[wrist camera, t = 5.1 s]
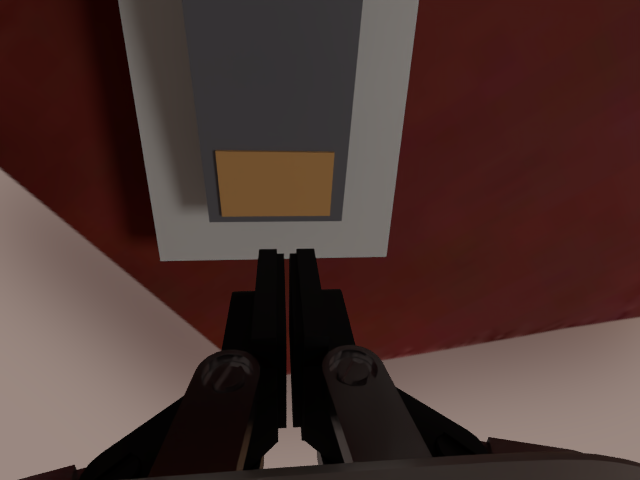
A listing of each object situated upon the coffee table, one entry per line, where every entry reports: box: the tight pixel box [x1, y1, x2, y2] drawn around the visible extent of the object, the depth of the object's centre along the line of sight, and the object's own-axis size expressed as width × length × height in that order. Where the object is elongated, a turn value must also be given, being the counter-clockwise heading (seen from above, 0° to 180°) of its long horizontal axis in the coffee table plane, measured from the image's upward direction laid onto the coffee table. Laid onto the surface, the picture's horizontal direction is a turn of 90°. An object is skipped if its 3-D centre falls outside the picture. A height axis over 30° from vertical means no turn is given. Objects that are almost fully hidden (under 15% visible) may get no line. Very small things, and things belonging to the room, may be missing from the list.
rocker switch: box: [182, 0, 363, 222], centre depth 20 cm, size 14×8×2 cm, turn 178°
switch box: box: [118, 0, 419, 261], centre depth 24 cm, size 22×16×6 cm
